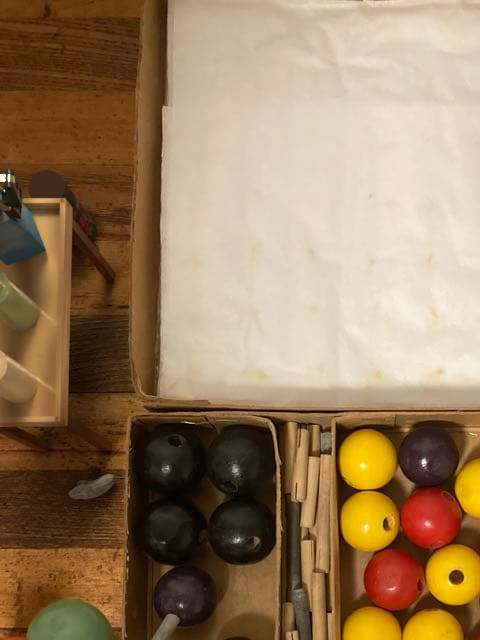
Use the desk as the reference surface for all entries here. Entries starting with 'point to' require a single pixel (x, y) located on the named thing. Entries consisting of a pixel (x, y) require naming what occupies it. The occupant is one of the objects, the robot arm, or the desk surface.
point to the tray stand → (48, 325)
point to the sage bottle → (16, 306)
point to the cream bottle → (15, 381)
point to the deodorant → (56, 187)
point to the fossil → (92, 487)
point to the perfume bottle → (19, 237)
